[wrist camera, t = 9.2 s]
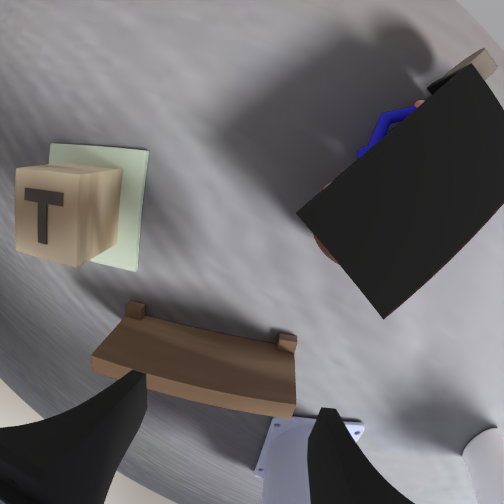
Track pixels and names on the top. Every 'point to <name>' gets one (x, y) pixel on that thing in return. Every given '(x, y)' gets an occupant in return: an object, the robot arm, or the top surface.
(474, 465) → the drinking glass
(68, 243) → the letter cube
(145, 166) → the pad
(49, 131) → the top surface
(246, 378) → the brown piece
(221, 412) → the top surface
